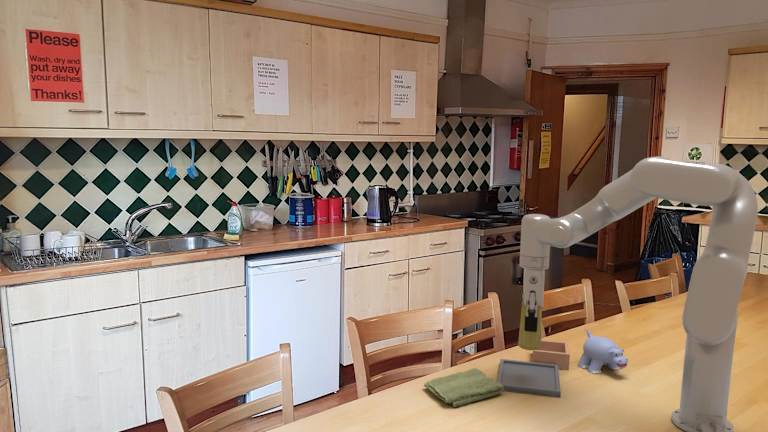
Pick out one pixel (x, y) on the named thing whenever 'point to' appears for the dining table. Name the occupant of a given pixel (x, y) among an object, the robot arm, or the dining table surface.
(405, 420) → the dining table surface
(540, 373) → the tray
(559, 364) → the pink square frame
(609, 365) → the hippopotamus toy
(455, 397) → the washcloth
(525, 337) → the vase
